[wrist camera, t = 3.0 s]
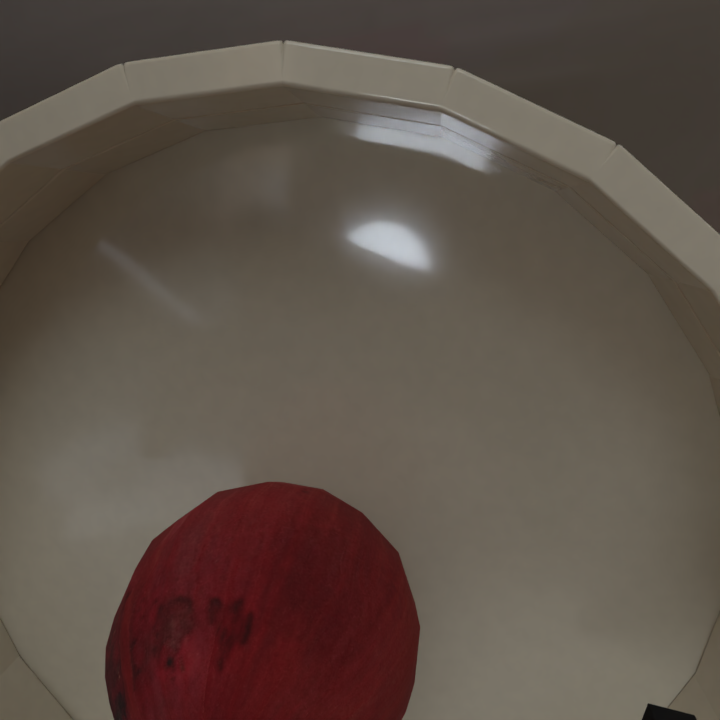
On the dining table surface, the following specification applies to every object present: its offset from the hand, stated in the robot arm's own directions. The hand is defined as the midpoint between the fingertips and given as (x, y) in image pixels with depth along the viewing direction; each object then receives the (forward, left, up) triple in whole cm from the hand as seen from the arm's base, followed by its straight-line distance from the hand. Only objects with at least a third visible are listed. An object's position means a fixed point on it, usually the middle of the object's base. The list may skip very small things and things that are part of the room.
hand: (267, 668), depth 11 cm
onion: (0, 0, -5) cm, 5 cm away
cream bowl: (0, 0, -5) cm, 5 cm away
